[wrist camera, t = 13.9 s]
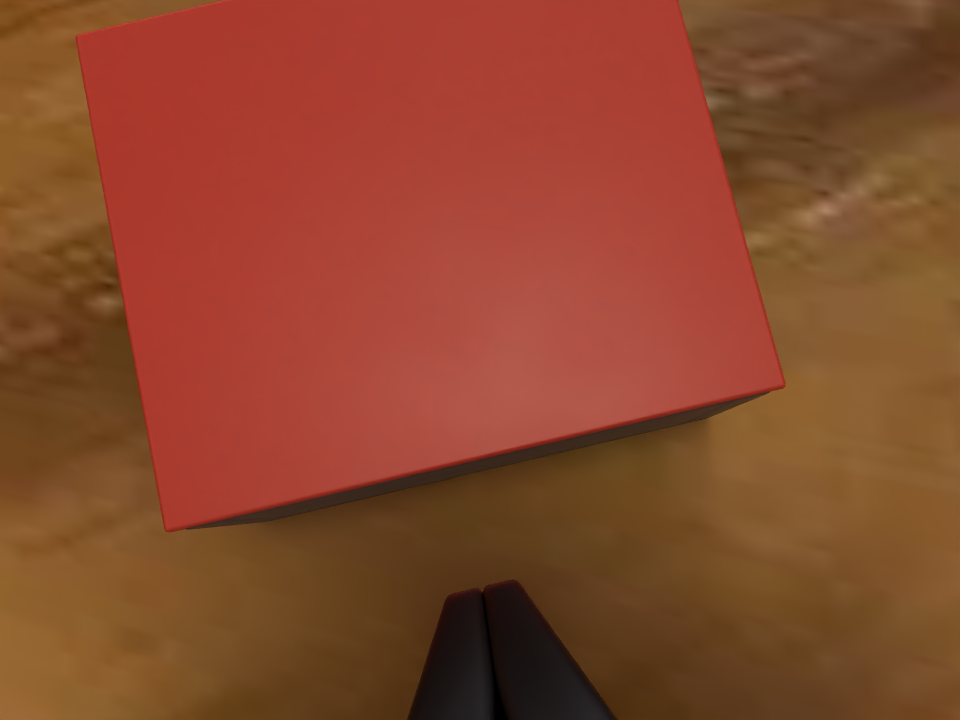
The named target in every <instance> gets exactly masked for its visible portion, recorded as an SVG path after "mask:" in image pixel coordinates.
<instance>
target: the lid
mask: <svg viewBox="0 0 960 720" xmlns="http://www.w3.org/2000/svg"><path fill="white" fill-rule="evenodd" d="M76 43H77V49H78V54H79V60H80V66H81V71H82V77H83V82H84V88H85V93H86V99H87V104H88V110H89V115H90V121H91V126H92V132H93V137H94V143H95V148H96V154H97V159H98V165H99V170H100V176H101V181H102V187H103V192H104V198H105V203H106V209H107V214H108V220H109V225H110V231H111V237H112V242H113V248H114V253H115V259H116V264H117V270H118V275H119V281H120V286H121V292H122V297H123V303H124V308H125V314H126V319H127V325H128V330H129V336H130V341H131V347H132V352H133V358H134V363H135V369H136V374H137V380H138V385H139V391H140V397H141V402H142V408H143V413H144V419H145V424H146V430H147V435H148V441H149V446H150V452H151V457H152V463H153V468H154V474H155V479H156V485H157V490H158V496H159V501H160V507H161V512H162V518H163V523H164V529H165V531H166V532H174V531H178V530H182V529H186V528H191V527H195V526H199V525H203V524H208V523H212V522H216V521H220V520H225V519H229V518H233V517H237V516H242V515H246V514H250V513H254V512H259V511H263V510H267V509H271V508H276V507H280V506H284V505H288V504H293V503H297V502H301V501H305V500H310V499H314V498H318V497H323V496H327V495H331V494H335V493H340V492H344V491H348V490H352V489H357V488H361V487H365V486H369V485H374V484H378V483H382V482H386V481H391V480H395V479H399V478H403V477H408V476H412V475H416V474H420V473H425V472H429V471H433V470H437V469H442V468H446V467H450V466H454V465H459V464H463V463H467V462H471V461H476V460H480V459H484V458H489V457H493V456H497V455H501V454H506V453H510V452H514V451H518V450H523V449H527V448H531V447H535V446H540V445H544V444H548V443H552V442H557V441H561V440H565V439H569V438H574V437H578V436H582V435H586V434H591V433H595V432H599V431H603V430H608V429H612V428H616V427H620V426H625V425H629V424H633V423H637V422H642V421H646V420H650V419H655V418H659V417H663V416H667V415H672V414H676V413H680V412H684V411H689V410H693V409H697V408H701V407H706V406H710V405H714V404H718V403H723V402H727V401H731V400H735V399H740V398H744V397H748V396H752V395H757V394H761V393H765V392H769V391H774V390H778V389H782V388H784V387H785V384H786V383H785V379H784V376H783V372H782V369H781V365H780V362H779V358H778V354H777V351H776V347H775V344H774V340H773V337H772V333H771V330H770V326H769V322H768V319H767V315H766V312H765V308H764V305H763V301H762V298H761V294H760V290H759V287H758V283H757V280H756V276H755V273H754V269H753V266H752V262H751V258H750V255H749V251H748V248H747V244H746V241H745V237H744V234H743V230H742V226H741V223H740V219H739V216H738V212H737V209H736V205H735V202H734V198H733V194H732V191H731V187H730V184H729V180H728V177H727V173H726V170H725V166H724V162H723V159H722V155H721V152H720V148H719V145H718V141H717V138H716V134H715V130H714V127H713V123H712V120H711V116H710V113H709V109H708V106H707V102H706V98H705V95H704V91H703V88H702V84H701V81H700V77H699V74H698V70H697V66H696V63H695V59H694V56H693V52H692V49H691V45H690V42H689V38H688V35H687V31H686V27H685V24H684V20H683V17H682V13H681V10H680V6H679V3H678V0H223V1H218V2H214V3H210V4H206V5H201V6H197V7H193V8H189V9H185V10H180V11H176V12H172V13H168V14H163V15H159V16H155V17H151V18H147V19H142V20H138V21H134V22H130V23H125V24H121V25H117V26H113V27H109V28H104V29H100V30H96V31H92V32H87V33H83V34H79V35H77V36H76Z"/></svg>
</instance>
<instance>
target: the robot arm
mask: <svg viewBox="0 0 960 720" xmlns="http://www.w3.org/2000/svg"><path fill="white" fill-rule="evenodd" d="M407 720H618V719H617V718H616V717H615V715H614V714H613V712H612V711H611V710H610V708H609V707H608V705H607V704H606V703H605V701H604V700H603V699H602V697H601V696H600V694H599V693H598V692H597V690H596V689H595V687H594V686H593V685H592V683H591V682H590V680H589V679H588V678H587V676H586V675H585V674H584V672H583V671H582V669H581V668H580V667H579V665H578V664H577V662H576V661H575V660H574V658H573V657H572V655H571V654H570V653H569V651H568V650H567V648H566V647H565V646H564V644H563V643H562V642H561V640H560V639H559V637H558V636H557V635H556V633H555V632H554V630H553V629H552V628H551V626H550V625H549V623H548V622H547V621H546V619H545V618H544V617H543V615H542V614H541V612H540V611H539V610H538V608H537V607H536V605H535V604H534V603H533V601H532V600H531V598H530V597H529V596H528V594H527V593H526V591H525V590H524V589H523V587H522V586H521V585H520V583H519V582H517V581H516V580H508V581H504V582H499V583H495V584H491V585H488V586H486V587H485V588H484V590H483V592H482V591H481V589H478V588H474V589H470V590H465V591H461V592H457V593H453V594H450V595H449V596H448V597H447V599H446V600H445V603H444V606H443V609H442V612H441V615H440V618H439V621H438V624H437V628H436V631H435V634H434V637H433V640H432V643H431V646H430V650H429V653H428V656H427V659H426V662H425V665H424V668H423V672H422V675H421V678H420V681H419V684H418V687H417V690H416V693H415V697H414V700H413V703H412V706H411V709H410V712H409V715H408V719H407Z"/></svg>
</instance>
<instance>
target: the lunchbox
mask: <svg viewBox="0 0 960 720" xmlns="http://www.w3.org/2000/svg"><path fill="white" fill-rule="evenodd" d="M769 392H770V391H769ZM769 392H765V393H761V394H757V395H752V396H748V397H744V398H740V399H735V400H731V401H727V402H723V403H718V404H714V405H710V406H706V407H701V408H697V409H693V410H689V411H684V412H680V413H676V414H672V415H667V416H663V417H659V418H655V419H650V420H646V421H642V422H637V423H633V424H629V425H625V426H620V427H616V428H612V429H608V430H603V431H599V432H595V433H591V434H586V435H582V436H578V437H574V438H569V439H565V440H561V441H557V442H552V443H548V444H544V445H540V446H535V447H531V448H527V449H523V450H518V451H514V452H510V453H506V454H501V455H497V456H493V457H489V458H484V459H480V460H476V461H471V462H467V463H463V464H459V465H454V466H450V467H446V468H442V469H437V470H433V471H429V472H425V473H420V474H416V475H412V476H408V477H403V478H399V479H395V480H391V481H386V482H382V483H378V484H374V485H369V486H365V487H361V488H357V489H352V490H348V491H344V492H340V493H335V494H331V495H327V496H323V497H318V498H314V499H310V500H305V501H301V502H297V503H293V504H288V505H284V506H280V507H276V508H271V509H267V510H263V511H259V512H254V513H250V514H246V515H242V516H237V517H233V518H229V519H225V520H220V521H216V522H212V523H208V524H203V525H199V526H195V527H191V528H186V529H198V528H208V527H218V526H228V525H238V524H248V523H259V522H266V521H271V520H275V519H279V518H283V517H288V516H292V515H296V514H301V513H305V512H309V511H313V510H318V509H322V508H326V507H330V506H335V505H339V504H343V503H347V502H352V501H356V500H360V499H364V498H369V497H373V496H377V495H381V494H386V493H390V492H394V491H398V490H403V489H407V488H411V487H415V486H420V485H424V484H428V483H432V482H437V481H441V480H445V479H450V478H454V477H458V476H462V475H467V474H471V473H475V472H479V471H484V470H488V469H492V468H496V467H501V466H505V465H509V464H513V463H518V462H522V461H526V460H530V459H535V458H539V457H543V456H547V455H552V454H556V453H560V452H564V451H569V450H573V449H577V448H581V447H586V446H590V445H594V444H599V443H603V442H607V441H611V440H616V439H620V438H624V437H628V436H633V435H637V434H641V433H645V432H650V431H654V430H658V429H662V428H667V427H671V426H675V425H679V424H684V423H688V422H692V421H696V420H701V419H705V418H709V417H711V416H714V415H716V414H718V413H721V412H723V411H726V410H728V409H731V408H733V407H736V406H738V405H740V404H743V403H745V402H748V401H750V400H753V399H755V398H758V397H760V396H763V395H765V394H767V393H769Z"/></svg>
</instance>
